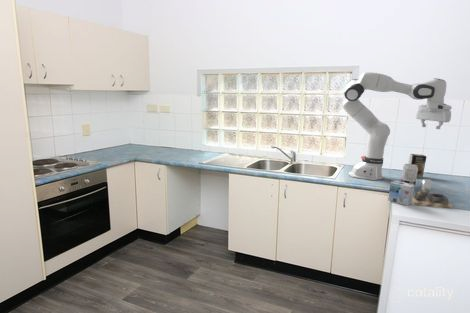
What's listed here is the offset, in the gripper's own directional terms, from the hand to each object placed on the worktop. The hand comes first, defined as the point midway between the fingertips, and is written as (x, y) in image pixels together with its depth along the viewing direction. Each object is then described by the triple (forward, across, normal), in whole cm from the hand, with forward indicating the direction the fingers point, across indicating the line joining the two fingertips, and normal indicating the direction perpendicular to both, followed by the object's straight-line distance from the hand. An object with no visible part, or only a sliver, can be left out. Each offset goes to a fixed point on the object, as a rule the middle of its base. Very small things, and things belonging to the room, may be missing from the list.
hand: (430, 128), depth 199 cm
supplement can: (+38, 0, -12) cm, 40 cm away
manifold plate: (+38, +23, -25) cm, 51 cm away
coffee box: (+38, -17, +17) cm, 45 cm away
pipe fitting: (+38, +14, -16) cm, 44 cm away
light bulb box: (+39, +17, -39) cm, 58 cm away
